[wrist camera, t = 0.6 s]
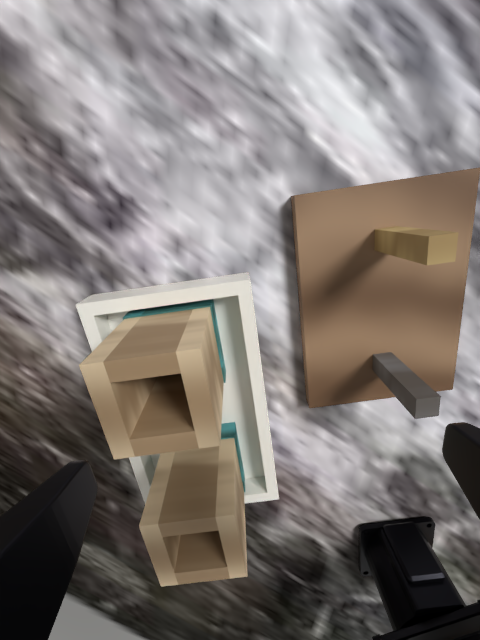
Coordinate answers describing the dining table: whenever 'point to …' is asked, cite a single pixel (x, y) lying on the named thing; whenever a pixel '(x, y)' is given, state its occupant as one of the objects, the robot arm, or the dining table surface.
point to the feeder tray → (239, 356)
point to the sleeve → (197, 514)
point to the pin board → (383, 288)
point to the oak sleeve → (159, 380)
